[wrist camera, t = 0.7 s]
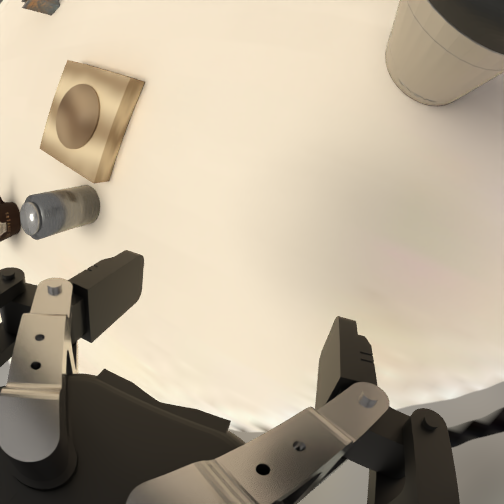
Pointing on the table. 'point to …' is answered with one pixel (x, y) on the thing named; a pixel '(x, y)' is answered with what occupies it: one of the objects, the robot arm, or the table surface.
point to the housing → (59, 211)
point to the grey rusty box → (42, 5)
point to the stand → (89, 119)
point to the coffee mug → (9, 219)
